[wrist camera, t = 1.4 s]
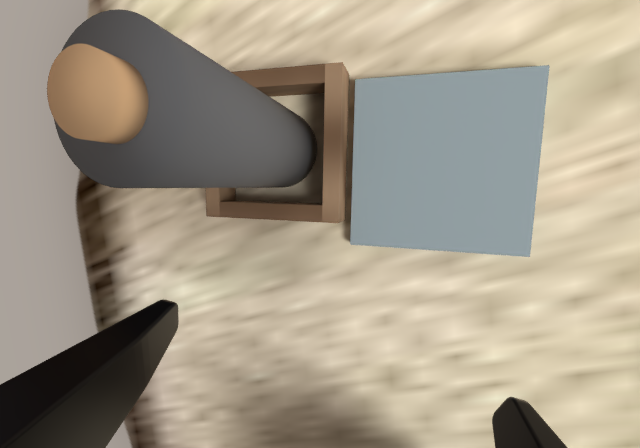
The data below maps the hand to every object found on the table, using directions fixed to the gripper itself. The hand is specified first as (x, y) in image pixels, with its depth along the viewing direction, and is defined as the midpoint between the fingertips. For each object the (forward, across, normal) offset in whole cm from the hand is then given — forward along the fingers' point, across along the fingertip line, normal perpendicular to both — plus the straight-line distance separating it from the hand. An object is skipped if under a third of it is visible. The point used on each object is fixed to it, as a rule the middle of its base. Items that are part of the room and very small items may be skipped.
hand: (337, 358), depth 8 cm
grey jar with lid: (+15, +6, 0) cm, 16 cm away
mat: (+13, -4, -2) cm, 14 cm away
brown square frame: (+15, +6, 0) cm, 16 cm away
